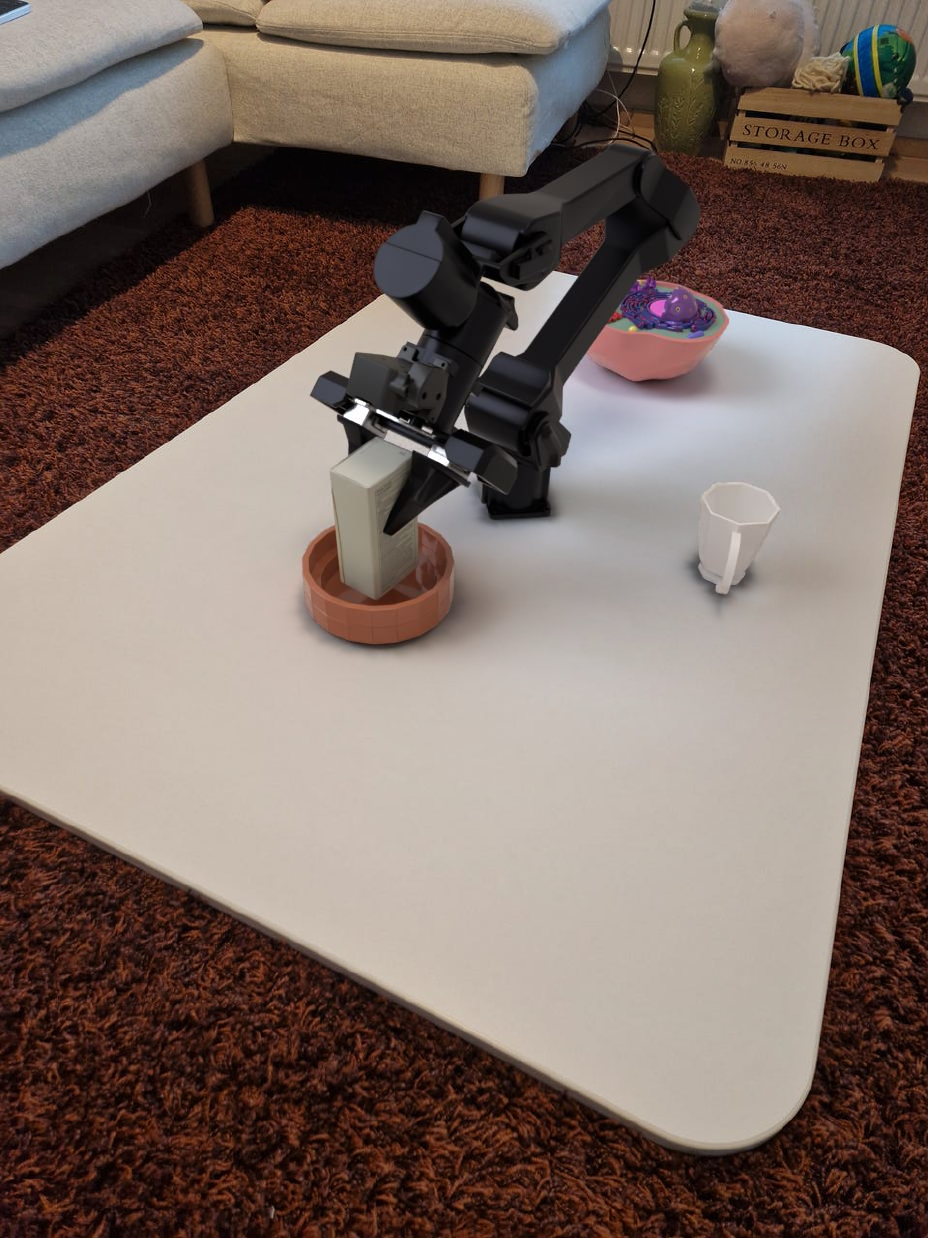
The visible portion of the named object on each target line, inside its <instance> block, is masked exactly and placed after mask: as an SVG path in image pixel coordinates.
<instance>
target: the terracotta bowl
mask: <svg viewBox="0 0 928 1238" xmlns="http://www.w3.org/2000/svg"><path fill="white" fill-rule="evenodd" d="M418 549H419V565H418V566H417V567H416V568H415V569H414V570H413V571H412V572H411V573H409V574H408V575H407V576H406V577H405V578H404V579H402V580H401V581H400V582H399V583H398V584H396V585H395V586H394V587H393V588H392V589H391V590H389V591H388V592H387V593H386V594H384V595H383V596H382V597H381V598H379V599H378V600H374V599H372V598H370V597H368V596H366V595H364V594H362V593H361V592H359V591H357V590H355V589H353V588H351V587H349V586H348V585H346V584H344V583H342V582H341V579H340V569H339V559H338V549H337V539H336V529H335V524H334V525H332V526H330V527H328V528H326V529H324V530H323V531H321V532H320V533H318V534H317V536H316V537H315V538H313V539H312V540H311V541H310V542H309V543H308V545H307V547H306V549H305V551H304V554H302V555H303V556H302V557H301V573H302V582H303V590H304V599H305V605H306V608H307V610H308V612H309V613H310V615H311V617H312V619H313V621H314V622H315V623H317V624H318V625H319V626H320V627H321V628H323V629H324V630H325V631H327V632H328V633H329V634H331V635H334V636H336V637H339V638H341V639H342V640H346V641H350V642H352V643H353V642H355V643H360V644H361V643H362V644H368V645H383V644H385V645H386V644H396V643H401V642H405V641H407V640H410V639H414V638H417V637H420V636H422V635H424V634H426V633H427V632H428V631H430V630H432V629H434V628H435V627H436V626H438V625H439V624H440V622H441V621H443V619H444V618H445V617H446V615H447V614H448V613H449V612H450V611H451V610H450V609H451V607H452V603H453V599H454V595H455V593H454V591H455V589H454V588H455V558H454V555H453V549H452V547H451V545H450V544H449V543H448V541H447V540H446V539H445V537H443V535H442V534H441V533H439V532H438V531H436V530H434V529H433V528H432V527H430V526H429V525H428V524H425V523H422V522H420V521H418Z"/></svg>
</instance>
